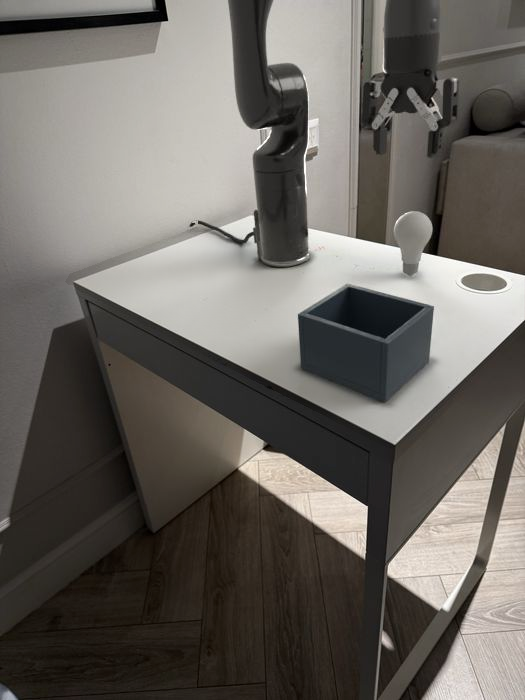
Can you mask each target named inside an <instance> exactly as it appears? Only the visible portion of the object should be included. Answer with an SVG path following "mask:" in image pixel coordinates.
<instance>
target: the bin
mask: <svg viewBox="0 0 525 700" xmlns="http://www.w3.org/2000/svg"><path fill="white" fill-rule="evenodd" d="M434 311H435V306H434V305H430V304H427V303H424V302H420V301H416V300H413V299H408V298H404V297H401V296H396V295H393V294H390V293H386V292H382V291H378V290H374V289H370V288H367V287H362V286H358V285H355V284H352V283H346V284H343V285H342V286H341V287H339V288H337V289H336V290H334V291H332V292H331V293H329V294H328V295H326V296H325V297H323V298H321V299H320V300H318V301H316V302H315V303H313V304H311V305H310V306H309V307H307V308H305V309H303V310H302V311H300V312H299V313H297V325H298V327H297V328H298V340H299V341H298V342H299V343H298V345H299V359H300V369H302V370H304V371H307V372H309V373H312V374H315V375H317V376H319V377H322V378H324V379H327V380H329V381H331V382H334V383H336V384H339V385H341V386H343V387H347V388H349V389H351V390H353V391H356V392H359V393H361V394H363V395H365V396H367V397H371V398H373V399H375V400H377V401H381V402H383V403H386V402H388V401H389V400H390V399H391V398H392V397H393V396H395V394H396V393H398V392H399V390H400V389H402V388H403V387H404V386H405V385H406V384H407V383H408V382H409V381H411V379H412V378H413V377H415V376H416V375H417V374H418V373H419V372H420V371H421V370H422V369H423V368H424V367H425V366H426V365H427V364H428V363H429V362H430V358H431V357H430V356H431V355H430V353H431V344H432V334H433V322H434V313H435V312H434Z"/></svg>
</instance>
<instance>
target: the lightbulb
mask: <svg viewBox="0 0 525 700" xmlns="http://www.w3.org/2000/svg"><path fill="white" fill-rule="evenodd" d="M432 223H433V222H432V221H431V220H430V218H429V217H428V215H427V214H425V213H423V212H422V211H421V212H420V211H417V210H416V211H415V210H411V211H408V212H405V213H403V214H402V215H401V216H400V217H399V218H398V219H397V220H396V222H395V224H394V227H393V235H394V239H395V242H396V243H397V245H398V247H399V250H400V254H401V261H402V272H403V273H404V274H406V275H407V276H409V277H410V276H413V275H415V274H418V272H419V267H420V261H421V259H422V255H423V251H424V249H425V247H426V246H427V244H428V243H429V241H430V239H431V238H432V235H433V224H432Z"/></svg>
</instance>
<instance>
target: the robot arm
mask: <svg viewBox="0 0 525 700" xmlns="http://www.w3.org/2000/svg"><path fill="white" fill-rule="evenodd" d="M227 3H228V11H229V13H228V14H229V19H230V20H229V21H230V30H231V31H230V32H231V40H232V41H231V45H232V46H231V47H232V62H233V65H232V66H233V80H234V82H233V84H234V93H235V100H236V106H237V109H238V112H239V116H240V118H241V120H242V122H243V124H245V126H246V127H247V128H249V129H251V130H253V131H259V130H266V129H270V132H269V135H268V137H267V138H266V140H265V141H264V142H263V143H262V144H261V145H260V146H259V147H258V148H256V149H255V150H254V152H253V153H252V168H253V169H252V170H253V179H254V180H253V182H254V189H255V200H256V209H254V210H253V220H254V221H253V222H254V226H253V227H252V232H248V233H247V234H246V235H245V237H244V238H243V239H242V238H241V239H240V238H237V237H236V236H234V235H232V234H230V233H229V232H226V231H225V230H223V229H222V228H220V227H218V226H214V225H212V224H211V223H208V222H205V221H202V220H198V224H197V225H202V226H204V227H206V228H208V229H210V230H213V231H216V232H218V233H220V234H222V235H223V236H225V237H227V238H228V239H230V240H232V241H234V242H236V243H238V244H246V243H248V241H249V239H250V238H251V237H253V242H254V244H255V245H256V250H257V258H258V259H259V260H261V262H262V263H263V264H265V265H267V266H271V267H278V268H280V267H281V268H283V267H294V266H298V265H301V264H303V263H305V262H306V261H308V260H309V258H310V255H311V254H310V245H309V222H308V220H309V219H308V201H307V199H308V198H307V179H306V178H307V177H306V176H307V175H306V155H307V150H308V146H309V112H310V111H309V108H310V107H309V106H310V105H309V103H310V102H309V100H310V99H309V89H308V84H307V80H306V78H305V75H304V73H303V71H302V69H301V68H300V67H298V65H297V64H294V63H291V62H281V63H274V64H269V62H268V54H267V53H268V52H267V26H268V21H269V16H270V13H271V9H272V6H273V3H274V0H227ZM442 5H443V4H442V0H385V7H384V14H383V28H382V31H383V41H382V42H383V44H382V45H383V46H382V47H383V48H382V50H383V51H382V71H383V79H382V81H378V80H377V79H375V80H369V81H366V82H364V83H363V86H362V103H361V104H362V105H361V106H362V108H361V124H362V125H363V126H366V125H367V126H369V127H370V128H371V129H372V130H373V140H372V141H373V142H372V143H373V144H372V147H373V151H374V152H375V155H376V156H383V155H385V154H386V153H387V151H388V127H386V126H387V124H388V122H389V121H390V120H391V118H392V117H393V116H394V115H395V114H402V113H407V114H416V113H418V114H419V116H420V117H421V118H422V119H423V120H424V121H425V122H426V124H427V125H428V128H429V129H430V130H429V131H428V134H427V135H428V137H427V150H426V152H427V153H426V157H427V159H434V158H436V157H437V156H438V154H439V153H441V151H442V149H443V138H444V130H445V128H446V127H449V126H451V125H453V124H456V123H457V122H458V120H459V101H460V100H459V99H460V98H459V95H460V79H459V77H458V76H452V77H450V78H445V79H439V77H438V74H437V71H438V67H439V54H440V40H441V39H440V38H441V25H442V12H443V11H442V9H443V7H442ZM437 91H439V96H441V97H442V114H441V112H440V108H439V106H438V104H437V103H436V101H435V99H434V98H433V97H434V95H435V94H436V93H437ZM381 93H382V95H383V97H384V98H385V100H384V102H383V104H382V105H381V107H380V108H379V110H378V101H379V97H380V95H381ZM195 225H196V224H195V223H192V222H190V224H189V225H188V226H189V228H193V227H194V226H195Z"/></svg>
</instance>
